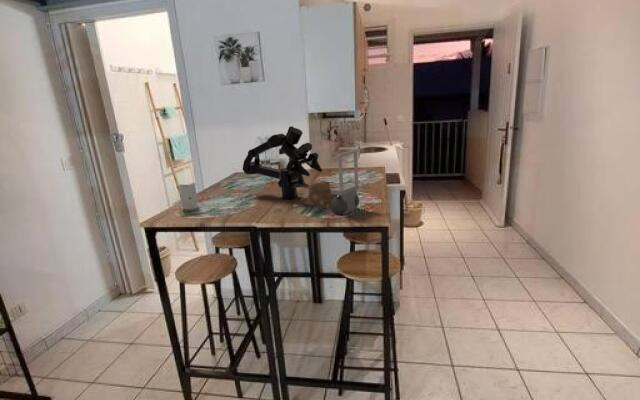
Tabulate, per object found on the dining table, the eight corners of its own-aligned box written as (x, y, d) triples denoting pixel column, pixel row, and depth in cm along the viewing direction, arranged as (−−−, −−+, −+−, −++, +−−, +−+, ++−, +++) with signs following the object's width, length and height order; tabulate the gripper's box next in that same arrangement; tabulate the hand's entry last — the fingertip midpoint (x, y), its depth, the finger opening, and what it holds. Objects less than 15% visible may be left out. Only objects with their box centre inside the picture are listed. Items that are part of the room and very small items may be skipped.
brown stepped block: (301, 203, 158) (300, 184, 155) (315, 198, 165) (314, 180, 162) (329, 208, 148) (327, 188, 145) (342, 202, 155) (341, 183, 152)
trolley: (330, 213, 141) (326, 153, 134) (346, 206, 149) (343, 149, 143) (344, 216, 137) (340, 154, 130) (360, 208, 145) (358, 149, 138)
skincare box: (182, 209, 162) (177, 184, 159) (188, 206, 166) (184, 182, 163) (193, 209, 160) (188, 184, 157) (199, 206, 164) (195, 182, 161)
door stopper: (295, 187, 190) (293, 165, 187) (286, 186, 193) (284, 165, 190) (305, 183, 197) (303, 162, 194) (296, 182, 200) (294, 162, 197)
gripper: (285, 141, 149) (309, 163, 144) (311, 135, 163) (334, 155, 158) (276, 161, 155) (299, 183, 150) (302, 154, 169) (324, 174, 165)
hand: (315, 173), depth 156 cm, fingers open, 9 cm apart
